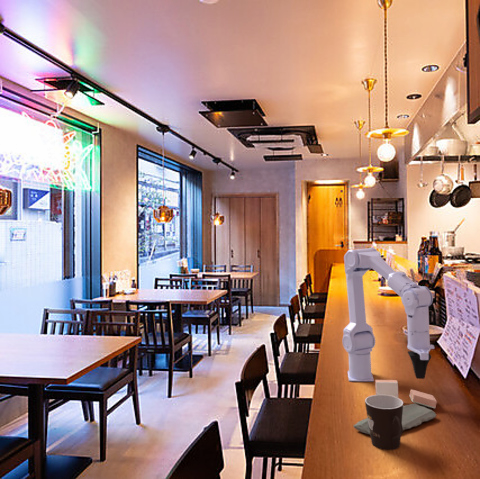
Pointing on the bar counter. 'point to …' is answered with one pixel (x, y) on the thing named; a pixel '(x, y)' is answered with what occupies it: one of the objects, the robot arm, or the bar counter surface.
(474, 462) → the bar counter surface
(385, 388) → the cream tile
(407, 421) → the stone slab
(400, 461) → the bar counter surface
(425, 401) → the pink flat block
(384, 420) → the coffee mug
